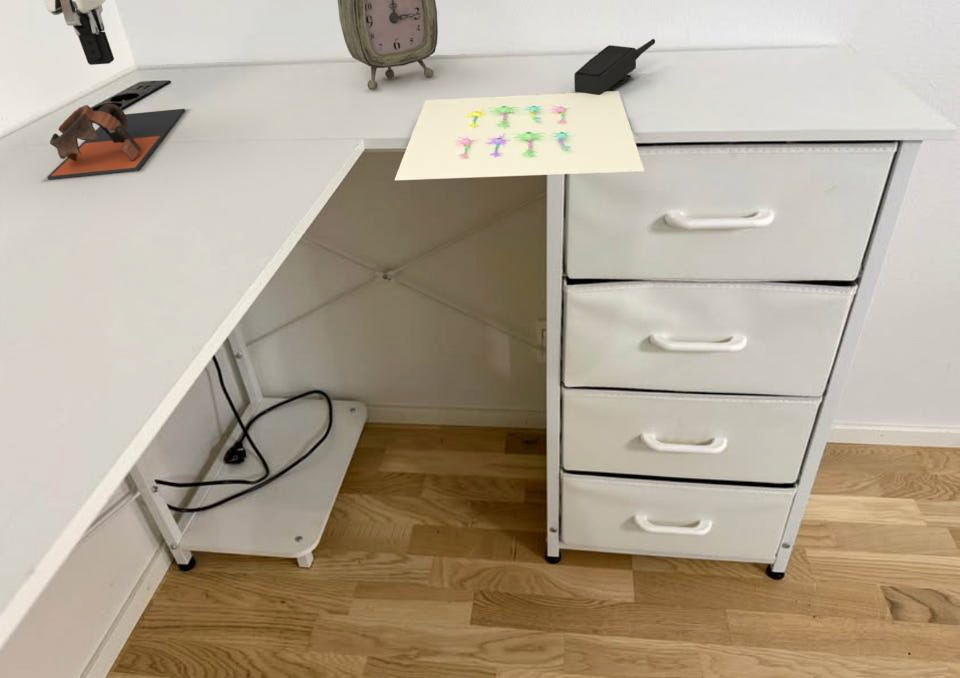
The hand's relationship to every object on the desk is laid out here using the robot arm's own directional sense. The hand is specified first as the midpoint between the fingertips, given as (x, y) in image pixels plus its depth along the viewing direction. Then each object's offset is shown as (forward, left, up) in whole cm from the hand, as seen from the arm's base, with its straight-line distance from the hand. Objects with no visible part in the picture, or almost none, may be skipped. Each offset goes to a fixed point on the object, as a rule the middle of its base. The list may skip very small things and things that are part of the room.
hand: (101, 62), depth 99 cm
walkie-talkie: (+78, +2, -11) cm, 78 cm away
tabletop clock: (+42, +15, -11) cm, 45 cm away
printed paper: (+59, -18, -10) cm, 62 cm away
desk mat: (+1, -4, -11) cm, 11 cm away
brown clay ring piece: (+1, -11, -10) cm, 15 cm away
